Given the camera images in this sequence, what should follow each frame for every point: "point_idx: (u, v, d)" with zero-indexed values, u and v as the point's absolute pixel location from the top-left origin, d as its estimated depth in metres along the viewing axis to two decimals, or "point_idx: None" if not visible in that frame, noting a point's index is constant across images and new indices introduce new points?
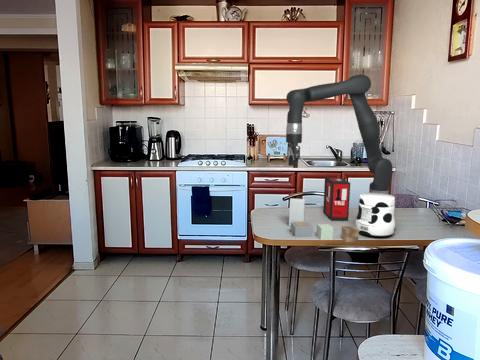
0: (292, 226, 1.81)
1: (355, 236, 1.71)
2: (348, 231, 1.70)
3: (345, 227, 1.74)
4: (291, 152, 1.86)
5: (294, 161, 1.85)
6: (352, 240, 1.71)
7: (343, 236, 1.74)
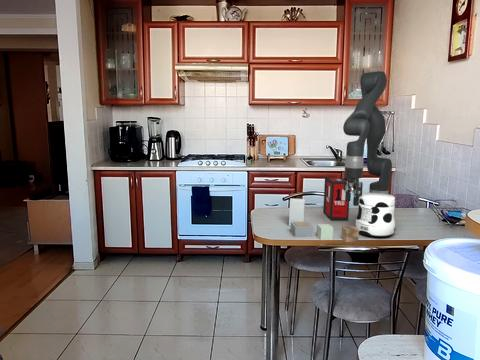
0: (292, 226, 1.81)
1: (355, 236, 1.71)
2: (348, 231, 1.70)
3: (345, 227, 1.74)
4: (351, 188, 1.67)
5: (355, 198, 1.66)
6: (352, 240, 1.71)
7: (343, 236, 1.74)
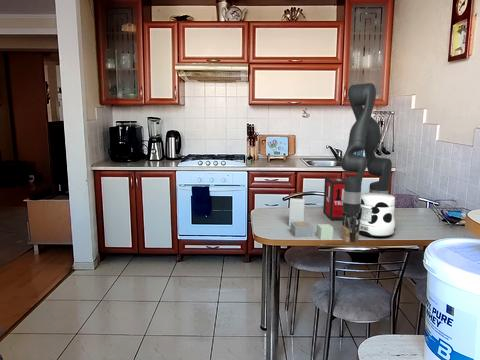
0: (292, 226, 1.81)
1: (355, 236, 1.71)
2: (348, 231, 1.70)
3: (345, 227, 1.74)
4: (348, 223, 1.70)
5: (351, 234, 1.70)
6: None
7: (343, 236, 1.74)
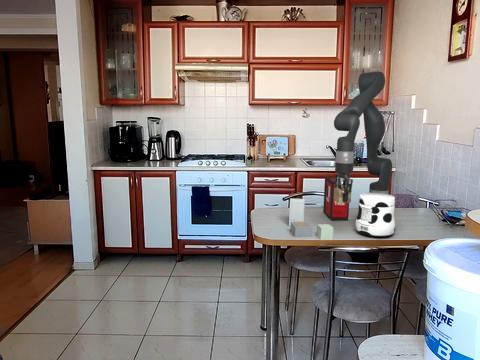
0: (292, 226, 1.81)
1: None
2: (341, 191, 1.68)
3: (338, 188, 1.72)
4: (341, 184, 1.68)
5: (344, 194, 1.68)
6: None
7: (336, 197, 1.72)
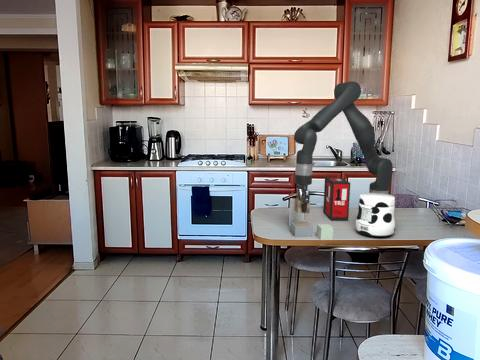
0: (292, 226, 1.81)
1: None
2: (299, 202, 1.75)
3: (297, 199, 1.79)
4: (300, 195, 1.76)
5: (303, 205, 1.75)
6: None
7: (295, 207, 1.79)
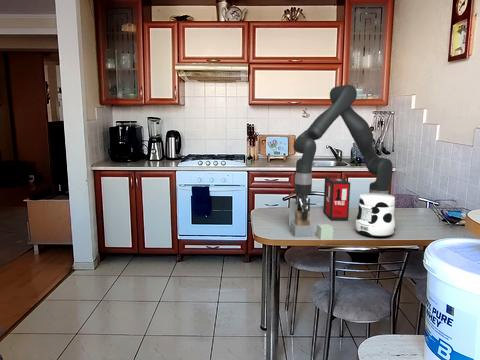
0: (292, 226, 1.81)
1: (306, 220, 1.77)
2: (299, 214, 1.76)
3: (297, 211, 1.80)
4: (300, 203, 1.76)
5: (303, 213, 1.74)
6: (303, 223, 1.77)
7: (295, 220, 1.80)
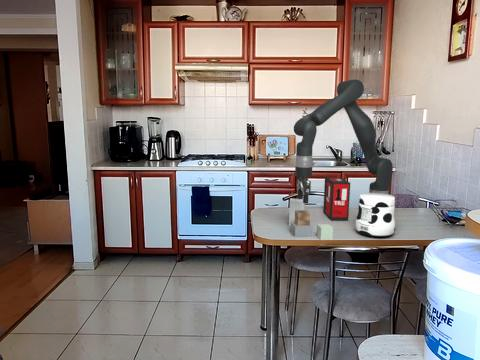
0: (292, 226, 1.81)
1: (306, 220, 1.77)
2: (299, 214, 1.76)
3: (298, 211, 1.80)
4: (301, 186, 1.74)
5: (304, 196, 1.73)
6: (304, 223, 1.77)
7: (296, 220, 1.80)
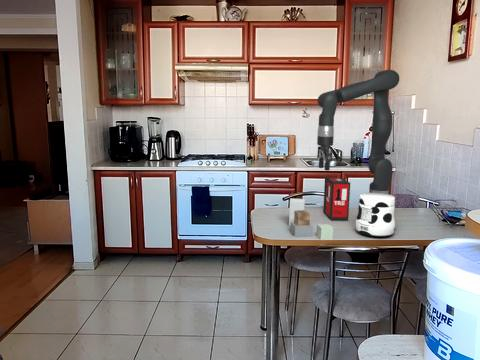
0: (292, 226, 1.81)
1: (306, 220, 1.77)
2: (300, 214, 1.76)
3: (297, 211, 1.80)
4: (323, 155, 1.87)
5: (326, 164, 1.85)
6: (304, 223, 1.78)
7: (295, 220, 1.80)
